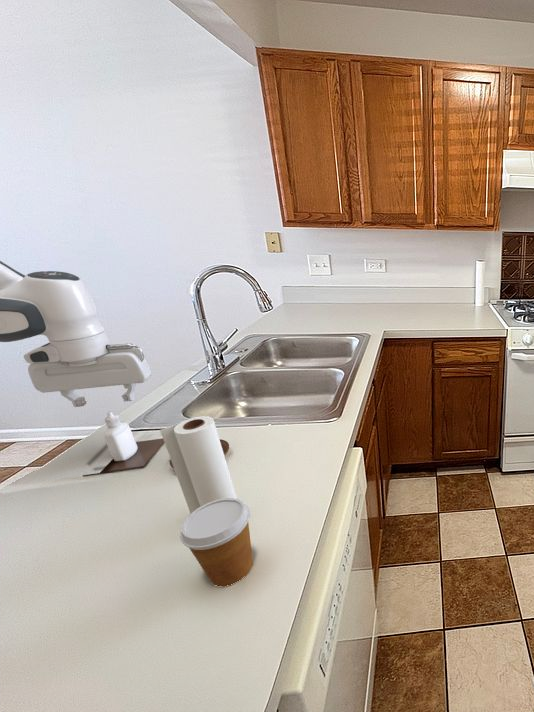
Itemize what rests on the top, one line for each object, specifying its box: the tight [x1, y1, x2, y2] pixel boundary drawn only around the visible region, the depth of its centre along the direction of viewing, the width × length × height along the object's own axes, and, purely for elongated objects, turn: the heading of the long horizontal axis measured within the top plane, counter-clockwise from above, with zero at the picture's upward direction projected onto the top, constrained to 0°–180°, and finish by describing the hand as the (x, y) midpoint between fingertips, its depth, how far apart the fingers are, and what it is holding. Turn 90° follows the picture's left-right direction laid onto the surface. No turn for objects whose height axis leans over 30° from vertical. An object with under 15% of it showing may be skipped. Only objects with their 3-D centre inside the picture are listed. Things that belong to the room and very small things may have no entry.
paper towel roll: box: [159, 415, 238, 514], centre depth 75 cm, size 7×6×21 cm
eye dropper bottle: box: [103, 411, 138, 461], centre depth 94 cm, size 4×6×12 cm
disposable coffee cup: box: [179, 498, 254, 587], centre depth 65 cm, size 10×10×12 cm
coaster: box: [82, 437, 165, 478], centre depth 97 cm, size 12×12×1 cm
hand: (105, 402), depth 91 cm, fingers open, 8 cm apart
